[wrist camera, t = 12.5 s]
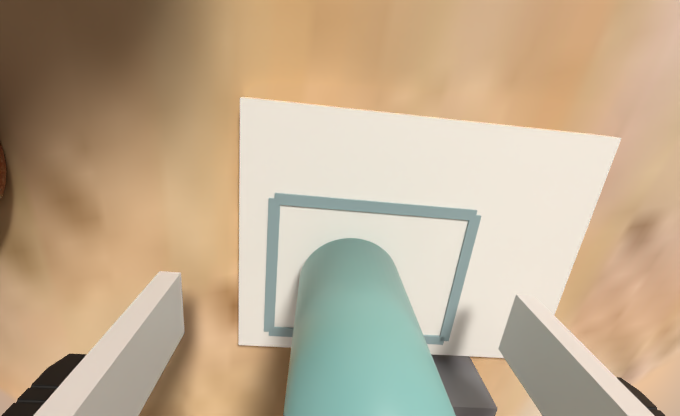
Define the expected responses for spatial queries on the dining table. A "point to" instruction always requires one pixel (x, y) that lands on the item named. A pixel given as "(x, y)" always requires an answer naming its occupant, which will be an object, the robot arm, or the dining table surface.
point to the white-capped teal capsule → (359, 340)
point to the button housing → (464, 386)
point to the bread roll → (2, 172)
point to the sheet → (413, 212)
